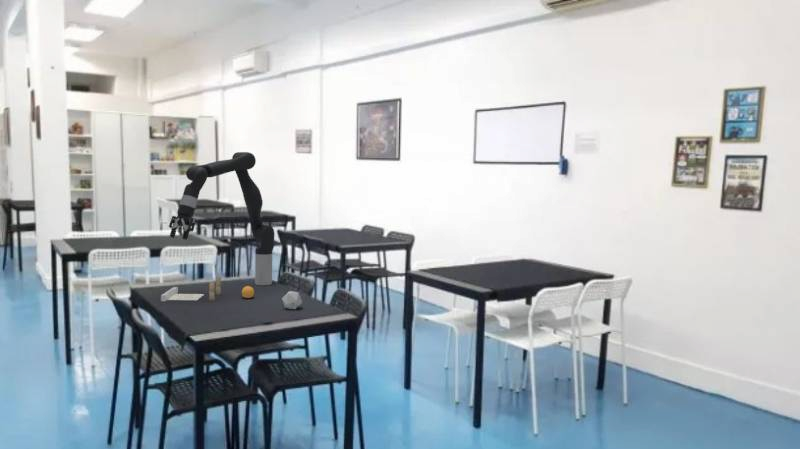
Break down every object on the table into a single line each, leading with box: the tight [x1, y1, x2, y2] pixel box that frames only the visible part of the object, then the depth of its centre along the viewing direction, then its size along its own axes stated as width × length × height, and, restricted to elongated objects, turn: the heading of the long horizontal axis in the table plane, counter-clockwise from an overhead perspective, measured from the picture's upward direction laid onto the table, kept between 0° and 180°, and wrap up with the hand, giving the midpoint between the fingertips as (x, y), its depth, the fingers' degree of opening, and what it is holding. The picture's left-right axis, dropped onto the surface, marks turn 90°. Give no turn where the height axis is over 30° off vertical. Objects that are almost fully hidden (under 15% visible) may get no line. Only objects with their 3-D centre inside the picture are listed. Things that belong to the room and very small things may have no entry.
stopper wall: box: [160, 286, 179, 302], centre depth 296 cm, size 20×2×3 cm, turn 4°
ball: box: [241, 285, 255, 299], centre depth 299 cm, size 6×6×6 cm
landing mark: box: [167, 293, 205, 301], centre depth 297 cm, size 14×14×1 cm
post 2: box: [215, 276, 222, 296], centre depth 304 cm, size 2×2×9 cm
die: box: [281, 290, 303, 311], centre depth 280 cm, size 8×9×10 cm
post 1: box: [208, 281, 216, 302], centre depth 291 cm, size 2×2×9 cm
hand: (178, 238), depth 287 cm, fingers open, 8 cm apart
